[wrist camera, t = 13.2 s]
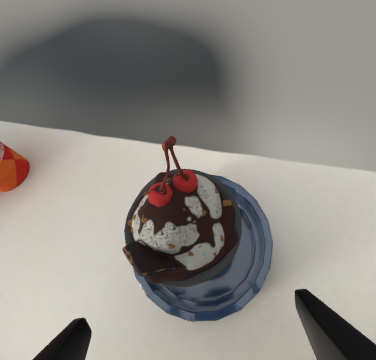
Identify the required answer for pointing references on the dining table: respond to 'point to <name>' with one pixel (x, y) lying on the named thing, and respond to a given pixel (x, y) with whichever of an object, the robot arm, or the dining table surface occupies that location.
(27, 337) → the dining table surface
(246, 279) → the bowl
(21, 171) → the paper cup
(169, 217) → the sundae
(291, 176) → the dining table surface
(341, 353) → the robot arm
